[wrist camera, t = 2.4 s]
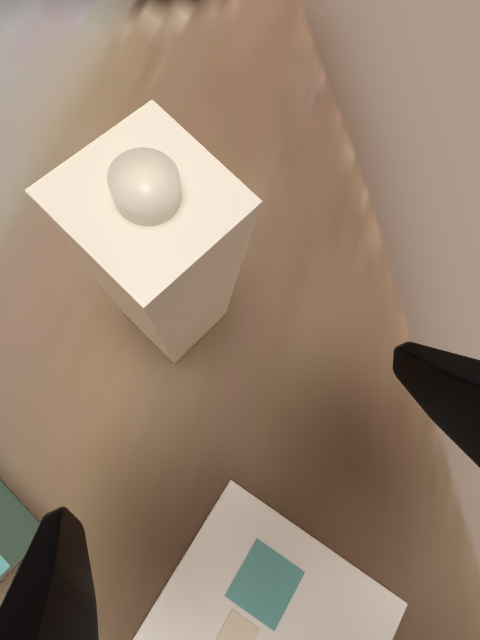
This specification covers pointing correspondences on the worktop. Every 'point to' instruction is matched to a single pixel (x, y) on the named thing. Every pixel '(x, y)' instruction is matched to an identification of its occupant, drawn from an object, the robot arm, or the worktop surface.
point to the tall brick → (154, 225)
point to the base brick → (14, 530)
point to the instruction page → (266, 584)
